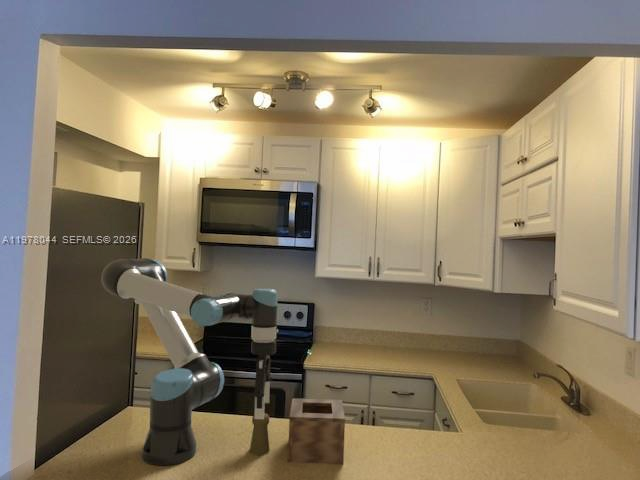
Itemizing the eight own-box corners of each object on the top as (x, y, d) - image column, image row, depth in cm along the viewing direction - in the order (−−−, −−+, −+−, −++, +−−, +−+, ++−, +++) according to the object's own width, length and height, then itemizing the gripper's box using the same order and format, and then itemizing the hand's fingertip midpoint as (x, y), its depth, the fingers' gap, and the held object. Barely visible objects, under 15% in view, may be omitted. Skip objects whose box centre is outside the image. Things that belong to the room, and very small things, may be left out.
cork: (250, 455, 134) (252, 418, 134) (248, 446, 139) (249, 410, 140) (271, 453, 135) (272, 416, 135) (268, 445, 141) (269, 409, 141)
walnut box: (287, 462, 130) (289, 416, 131) (291, 438, 146) (292, 398, 147) (343, 464, 131) (344, 418, 131) (340, 440, 147) (341, 399, 147)
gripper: (272, 349, 125) (270, 426, 125) (279, 332, 150) (278, 397, 150) (245, 348, 125) (243, 426, 125) (257, 332, 150) (255, 396, 150)
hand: (262, 410), depth 137 cm, fingers open, 13 cm apart
